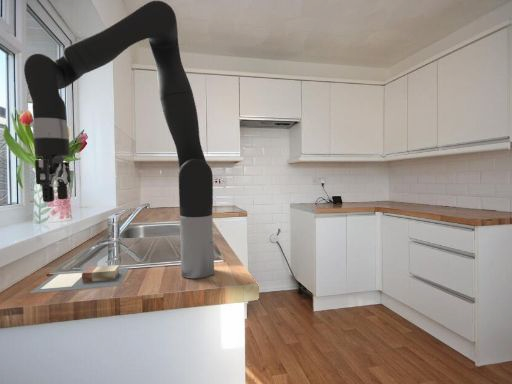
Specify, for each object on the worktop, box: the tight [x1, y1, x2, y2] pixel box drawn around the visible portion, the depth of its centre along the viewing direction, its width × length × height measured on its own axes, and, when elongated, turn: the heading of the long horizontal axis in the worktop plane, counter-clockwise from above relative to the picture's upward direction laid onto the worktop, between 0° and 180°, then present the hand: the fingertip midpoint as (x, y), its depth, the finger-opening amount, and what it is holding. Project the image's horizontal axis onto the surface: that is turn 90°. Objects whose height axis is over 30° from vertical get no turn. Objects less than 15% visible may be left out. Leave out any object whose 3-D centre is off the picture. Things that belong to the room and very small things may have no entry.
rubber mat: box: [29, 267, 130, 294], centre depth 80 cm, size 20×15×1 cm
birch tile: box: [82, 264, 120, 282], centre depth 81 cm, size 8×5×2 cm, turn 103°
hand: (56, 200), depth 77 cm, fingers open, 8 cm apart
